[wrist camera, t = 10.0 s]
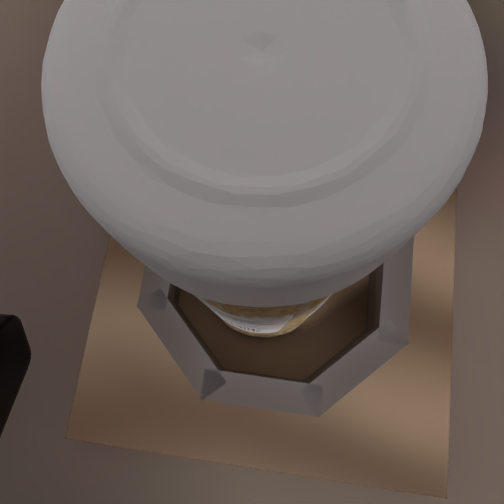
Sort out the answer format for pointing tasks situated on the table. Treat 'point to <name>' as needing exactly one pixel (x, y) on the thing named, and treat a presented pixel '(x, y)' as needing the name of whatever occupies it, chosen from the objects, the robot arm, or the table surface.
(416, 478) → the collar plate
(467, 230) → the table surface
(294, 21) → the sprinkles bottle
